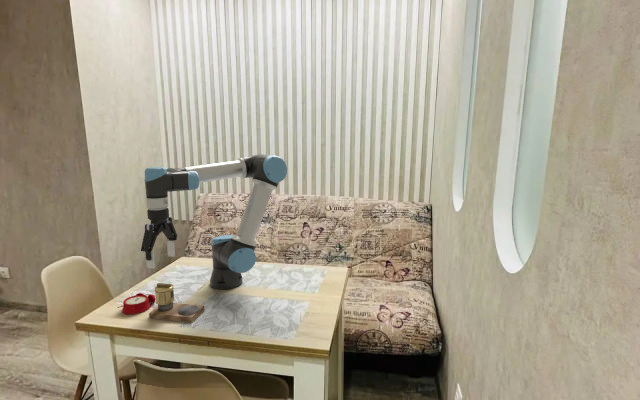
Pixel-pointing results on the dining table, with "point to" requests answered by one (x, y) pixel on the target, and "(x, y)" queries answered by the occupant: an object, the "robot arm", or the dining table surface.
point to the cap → (164, 293)
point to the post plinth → (177, 312)
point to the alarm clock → (137, 303)
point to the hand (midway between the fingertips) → (161, 261)
